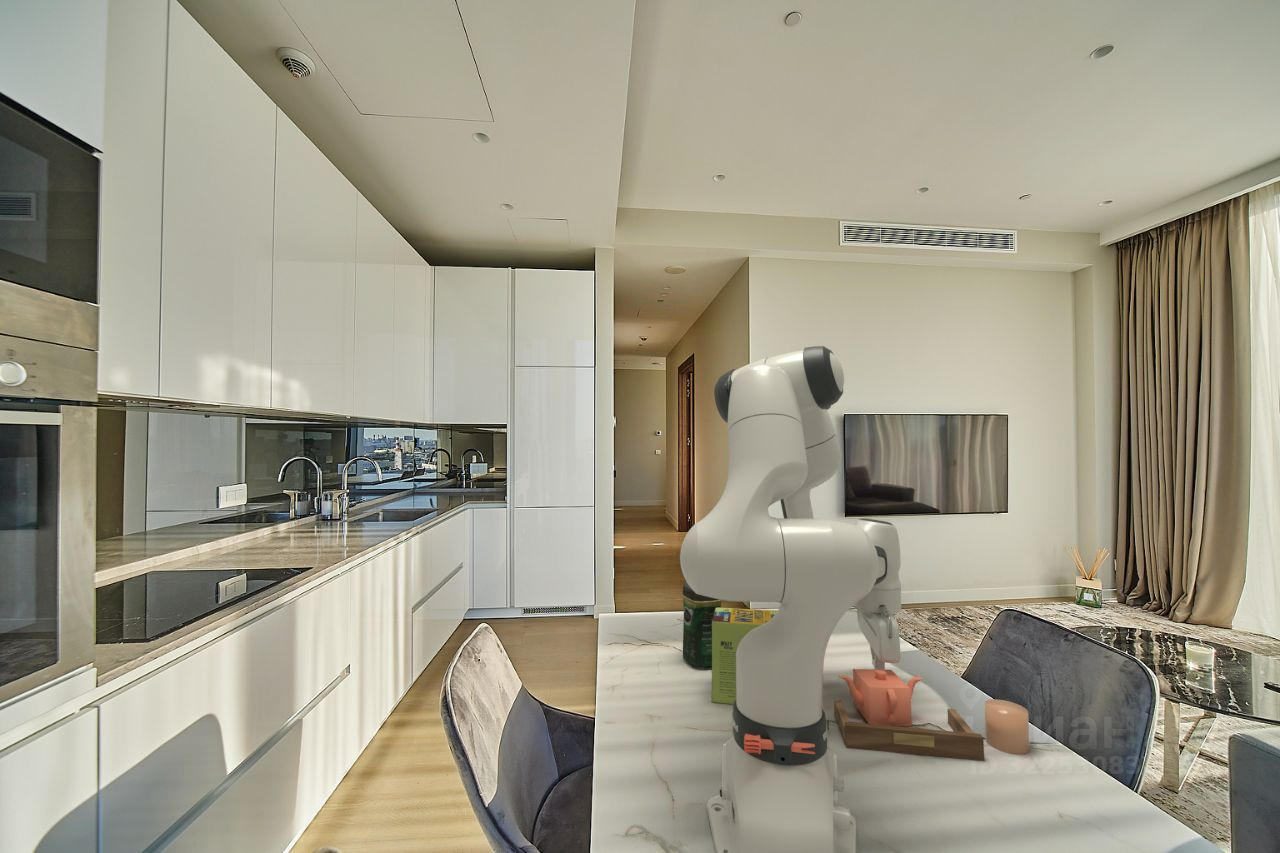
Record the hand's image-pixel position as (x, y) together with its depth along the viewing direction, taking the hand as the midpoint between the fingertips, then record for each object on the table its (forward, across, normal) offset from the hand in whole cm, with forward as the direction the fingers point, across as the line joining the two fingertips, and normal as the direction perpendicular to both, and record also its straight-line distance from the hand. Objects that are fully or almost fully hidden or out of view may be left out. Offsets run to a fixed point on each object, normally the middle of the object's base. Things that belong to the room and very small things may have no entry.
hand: (878, 668), depth 110 cm
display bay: (+4, -17, 0) cm, 18 cm away
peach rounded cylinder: (+4, -17, -16) cm, 24 cm away
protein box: (+5, -6, +25) cm, 26 cm away
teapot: (+5, -12, +2) cm, 13 cm away
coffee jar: (+5, +8, +36) cm, 37 cm away
